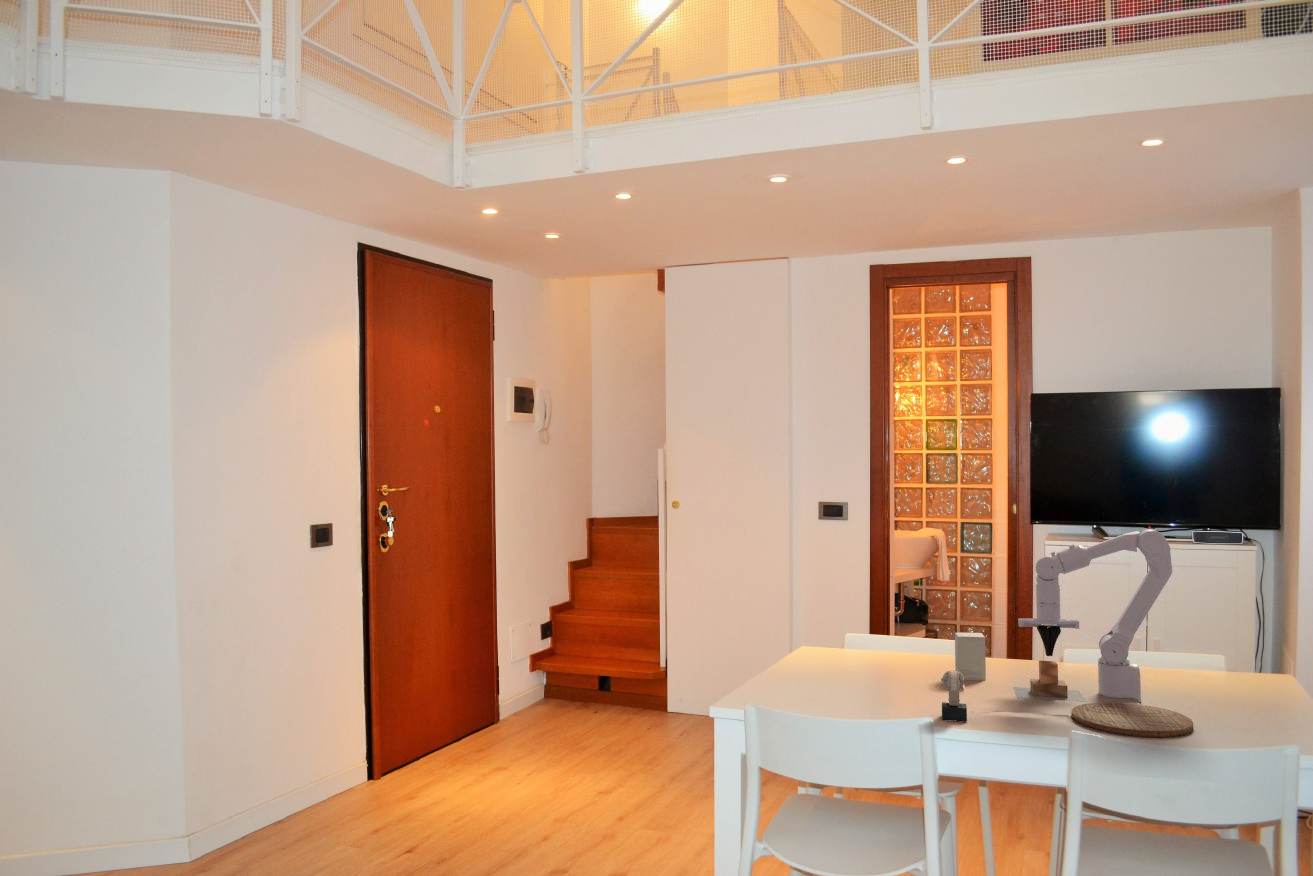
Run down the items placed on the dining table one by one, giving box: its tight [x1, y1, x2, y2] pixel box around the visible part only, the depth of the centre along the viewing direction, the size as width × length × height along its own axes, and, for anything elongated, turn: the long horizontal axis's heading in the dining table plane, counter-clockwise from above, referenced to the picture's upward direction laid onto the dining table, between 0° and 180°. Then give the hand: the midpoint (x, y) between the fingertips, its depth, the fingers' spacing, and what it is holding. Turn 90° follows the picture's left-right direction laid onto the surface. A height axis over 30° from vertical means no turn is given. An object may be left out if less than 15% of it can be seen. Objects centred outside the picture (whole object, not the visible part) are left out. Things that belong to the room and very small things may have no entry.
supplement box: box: [954, 632, 987, 681], centre depth 263 cm, size 7×7×13 cm
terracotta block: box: [1038, 660, 1059, 684], centre depth 243 cm, size 4×4×5 cm
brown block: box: [1029, 678, 1068, 698], centre depth 243 cm, size 8×6×3 cm
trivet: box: [1071, 701, 1194, 739], centre depth 220 cm, size 25×25×2 cm
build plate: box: [1012, 686, 1088, 703], centre depth 243 cm, size 16×12×1 cm
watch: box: [940, 670, 968, 722], centre depth 224 cm, size 6×8×11 cm
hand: (1049, 655), depth 248 cm, fingers closed
